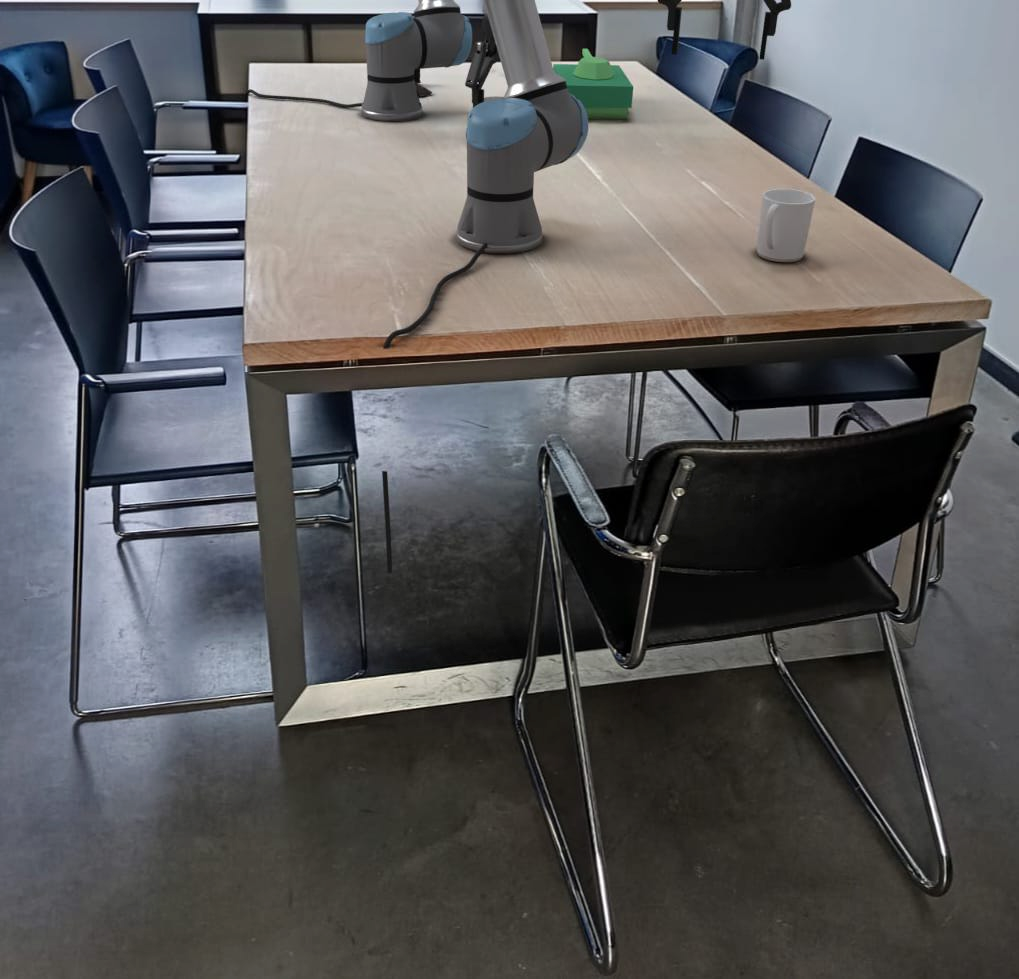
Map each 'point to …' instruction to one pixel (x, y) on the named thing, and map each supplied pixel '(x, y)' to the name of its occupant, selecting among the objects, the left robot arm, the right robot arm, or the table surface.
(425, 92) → the axe head
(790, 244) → the mug
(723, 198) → the table surface
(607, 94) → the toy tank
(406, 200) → the table surface
